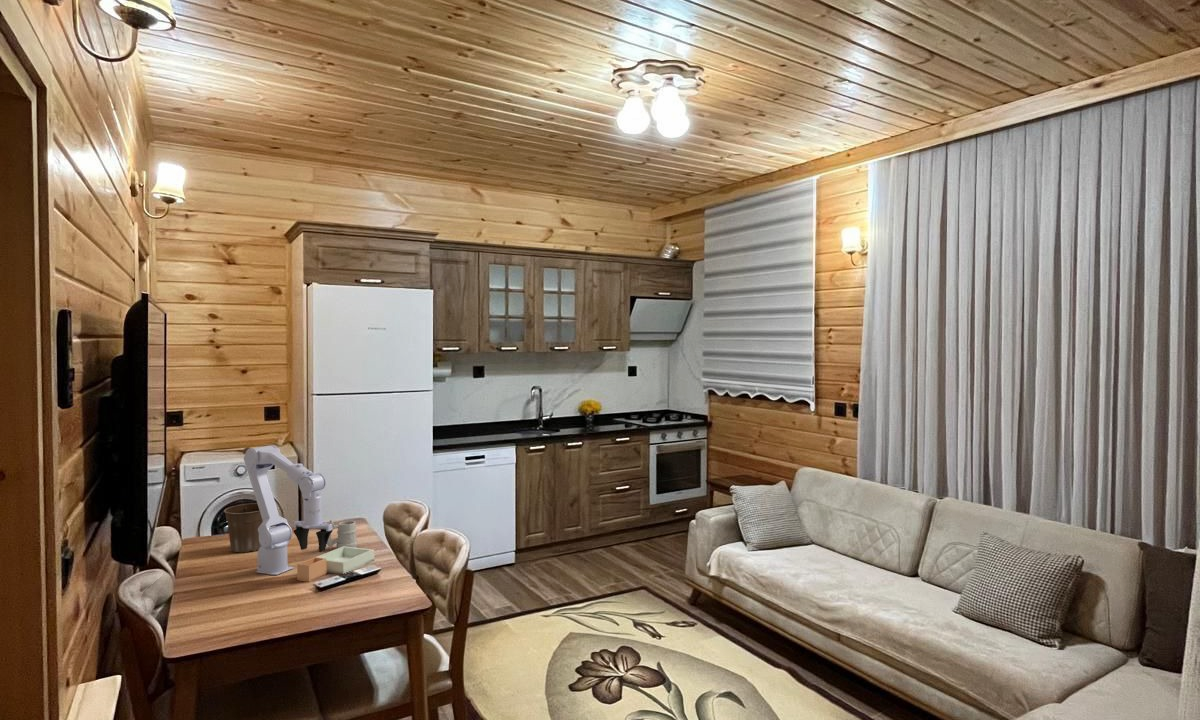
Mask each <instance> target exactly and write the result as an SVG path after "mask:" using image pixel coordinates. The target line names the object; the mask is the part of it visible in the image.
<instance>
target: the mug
mask: <svg viewBox="0 0 1200 720" xmlns="http://www.w3.org/2000/svg"><path fill="white" fill-rule="evenodd" d="M329 524H332V532H333V531H334V530H335V529H337V532H336V534H337V538H335V539H332V537H331V536H332V535H331V534H332V533H331V534H330V536H329V539H328V541H327V545H326V546H328V548H329V549H331V548H332V547H333V546H334V545H335V544H336V547H337V549H338V548H340V547H343V546H346V547H354V548H358V547H357V545H358V540H357V530H358V529H357V526H356V524H357V523H356V521H354V520H346V521H341V522H339V523H338V524H336V525H335V523H334V521H333V519H329Z"/></svg>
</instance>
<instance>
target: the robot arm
mask: <svg viewBox="0 0 1200 720" xmlns="http://www.w3.org/2000/svg"><path fill="white" fill-rule="evenodd" d="M243 462H244V465H245V468H246V470H247V474H248V477H249V481H250V484H251V486H252V487H251V488H252V490H253V493H254V496H255V499H256V503H257V504H258V507H259V510H260V513H261V517H262V520H263V522H262V524H261V525H260V526H259V528H258V532H259V542H260V544H261V545H262V546H261V547H260V548H259V550H257V556H256V557H257V558H256V559H257V561H256V562H257V570H255V573H258V574H265V575H272V576H277V575H280V574H282V573H286V572H288V571H291V570H293V569H294V566H290V565H289V566H288V562H289V561H288V544H290V541H291V540H292V538H293V534H294V536H296V539H297V541H298V544H299V546H300V550H301V551H304V550H306V549H308V538H309V534H310V533H309V532H310V530H319V531H316V532H315V534H316V538H317V541H318V552H319V553H322V552H325V551H326V548H327V546H328V545H327V541H328V539H329V536H330V534H332V533H333V531H332V524H330V523H329V522H328V523H327V522H325V521H323V506H322V505H323V499H322V498H323V494H322V491H323V489H325V488H326V478H325V476H324V475H322V474H321V473H320V472H317V473H314V472H313V471H311V470H310V469H308V468H307V467H305V466H304V464H302V463H293V462H292V461H291V460H290V459H288V458H287V457H286V456H285V455H283V454H282V453H281V449H280V448H279V447H277V446H276V445H274V444H269V445H266V446H260V447H259V446H258V447H249V448H248V449H246V451H245V453H244V457H243ZM273 466H275V467H277V468H279V469H280V470H282V471H284V472H285V473H286V477H287V478H288V479H290V480H291V481H293V483H295V484H297V486H299V490H300V492H301V497H302V499H303V520H297V521H294V522H293V529H294V530H293V529H292V527H291V526H290V525H289V522H288V520H287V518H284V517H282V516H281V515H280V514H279V510H278V508H277V504H276V501H275V498H274V495H273V491H272V488H271V485H270V481H269V479H268V475H267V474H268V472H269V470H271V469H272V468H273Z"/></svg>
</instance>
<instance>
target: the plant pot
mask: <svg viewBox="0 0 1200 720" xmlns="http://www.w3.org/2000/svg"><path fill="white" fill-rule="evenodd" d="M223 513H224V514H225V520H226V522H227V528H228V537H229V545H230V551H231V552H232V551H233V552H232V553H236V552H247V553H249V552H257V551H258V550H259V548H260V547H261V546H262V545H261V544H260V542H259V532H258V528H259V526H260V525H261V524H262V522H263V520H262V517H261V513H260V510H259V507H258V504H257V502H255V503H253V502H252V503H251V502H250V503H241V504H236V505H232V506H229V507H227V508H225V509H224V510H223ZM256 550H257V551H256Z"/></svg>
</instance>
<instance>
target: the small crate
mask: <svg viewBox="0 0 1200 720" xmlns="http://www.w3.org/2000/svg"><path fill="white" fill-rule="evenodd" d="M296 565H297V566H296V567H297V572H296V573H297V574H296V575H297V581H301V582H307V583H310V582H313V581H315V580H317V579H319V578H322V577H324V576H327V574H328V572H327V565H326V558H318V557H317V556H314V557H311V558H310V559H309V558H308V559H306V560H304V561H302V562H299V563H297V564H296Z"/></svg>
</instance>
